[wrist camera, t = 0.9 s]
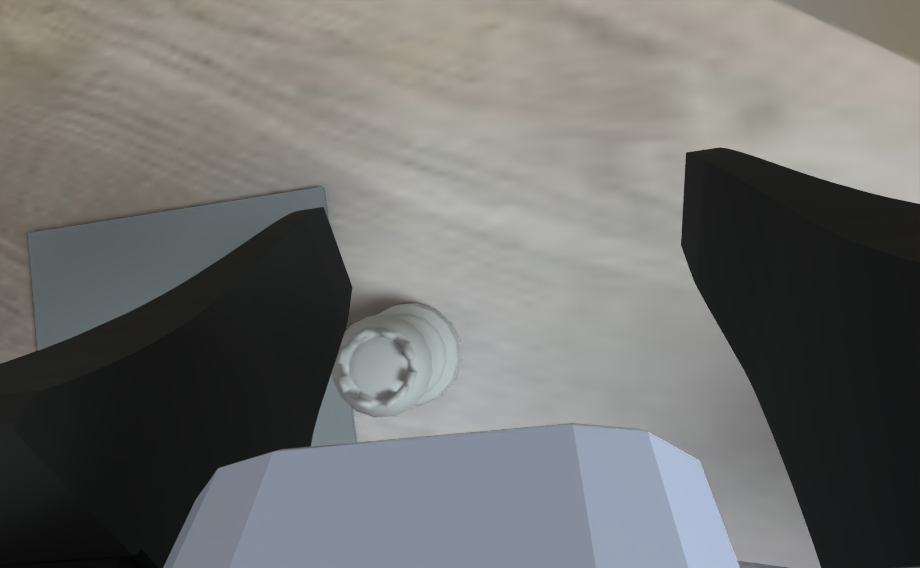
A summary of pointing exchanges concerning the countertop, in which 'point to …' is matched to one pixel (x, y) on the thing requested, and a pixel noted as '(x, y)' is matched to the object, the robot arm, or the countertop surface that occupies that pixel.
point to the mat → (155, 271)
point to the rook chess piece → (397, 360)
